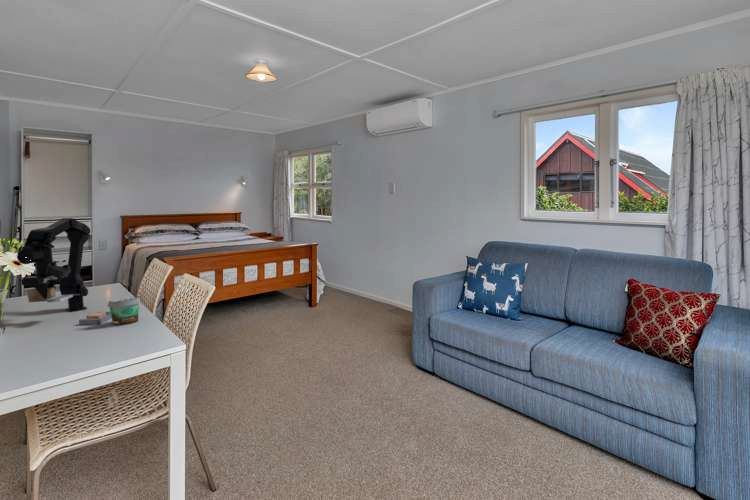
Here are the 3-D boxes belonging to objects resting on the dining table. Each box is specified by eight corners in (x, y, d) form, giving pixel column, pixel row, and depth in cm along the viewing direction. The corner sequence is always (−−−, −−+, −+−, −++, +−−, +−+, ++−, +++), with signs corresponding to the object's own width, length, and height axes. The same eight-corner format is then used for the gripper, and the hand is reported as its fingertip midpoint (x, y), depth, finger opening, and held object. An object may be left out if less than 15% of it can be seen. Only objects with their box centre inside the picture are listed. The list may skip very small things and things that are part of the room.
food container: (117, 328, 164) (115, 303, 162) (109, 325, 167) (107, 301, 166) (148, 320, 174) (146, 297, 173) (139, 318, 177) (138, 295, 176)
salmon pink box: (86, 323, 171) (86, 315, 171) (94, 319, 176) (93, 312, 176) (99, 322, 171) (98, 315, 171) (106, 319, 176) (105, 312, 176)
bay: (79, 324, 168) (78, 320, 167) (96, 316, 179) (96, 311, 179) (99, 324, 168) (99, 319, 168) (116, 316, 180) (115, 311, 180)
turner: (23, 304, 167) (21, 291, 166) (38, 299, 175) (36, 287, 174) (60, 301, 168) (58, 289, 167) (73, 296, 176) (71, 285, 175)
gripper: (48, 263, 161) (52, 303, 163) (79, 256, 179) (82, 292, 181) (18, 264, 160) (22, 303, 162) (51, 257, 178) (55, 292, 180)
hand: (47, 297), depth 171 cm, fingers closed on turner, 2 cm apart
